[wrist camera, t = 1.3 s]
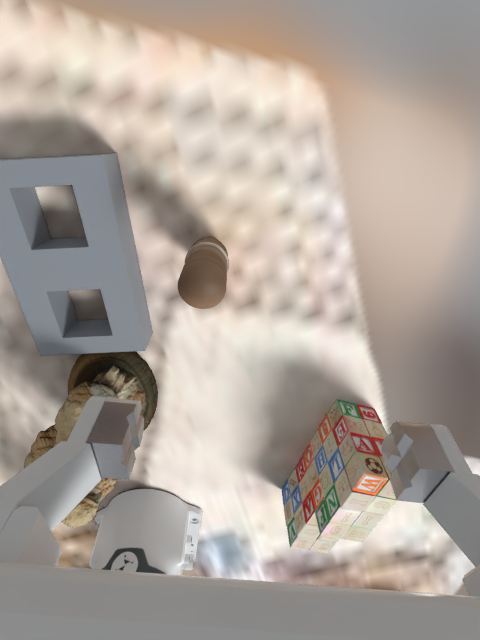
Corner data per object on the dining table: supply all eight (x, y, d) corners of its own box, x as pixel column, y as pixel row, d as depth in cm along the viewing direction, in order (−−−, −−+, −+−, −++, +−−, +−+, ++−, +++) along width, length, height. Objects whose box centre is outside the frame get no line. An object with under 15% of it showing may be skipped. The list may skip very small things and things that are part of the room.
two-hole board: (152, 332, 42) (145, 350, 38) (56, 337, 42) (40, 355, 38) (116, 152, 32) (102, 155, 28) (-9, 159, 32) (-38, 162, 29)
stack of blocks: (314, 495, 58) (332, 577, 47) (280, 489, 57) (291, 571, 46) (375, 407, 48) (415, 485, 38) (335, 397, 47) (365, 475, 37)
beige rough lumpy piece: (155, 444, 52) (121, 571, 37) (76, 436, 51) (9, 562, 36) (161, 347, 43) (119, 463, 28) (65, 335, 42) (-30, 448, 27)
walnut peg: (230, 268, 38) (229, 309, 29) (192, 270, 38) (179, 311, 29) (228, 230, 36) (226, 261, 27) (188, 232, 36) (172, 263, 27)
